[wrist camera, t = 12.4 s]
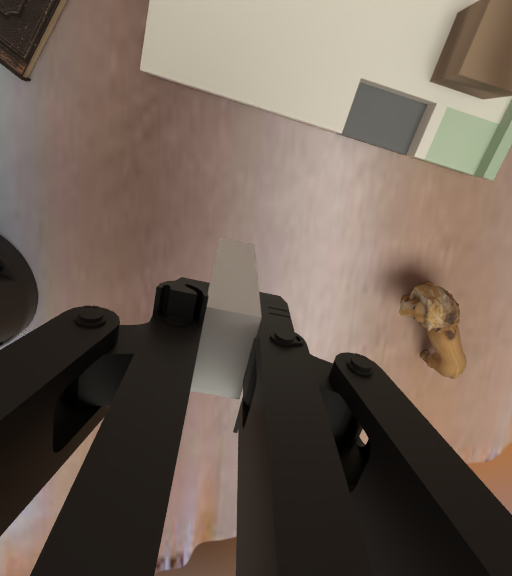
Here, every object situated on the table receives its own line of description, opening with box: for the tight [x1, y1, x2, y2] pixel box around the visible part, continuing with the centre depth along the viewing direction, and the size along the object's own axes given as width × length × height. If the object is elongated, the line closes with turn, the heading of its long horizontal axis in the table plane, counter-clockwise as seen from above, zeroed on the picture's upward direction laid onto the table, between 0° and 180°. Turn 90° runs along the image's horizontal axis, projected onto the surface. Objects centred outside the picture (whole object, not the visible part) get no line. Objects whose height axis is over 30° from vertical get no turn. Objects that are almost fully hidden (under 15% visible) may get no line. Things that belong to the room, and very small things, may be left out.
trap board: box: [140, 0, 512, 180], centre depth 31 cm, size 32×16×4 cm, turn 74°
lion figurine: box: [399, 282, 466, 379], centre depth 40 cm, size 15×5×9 cm, turn 34°
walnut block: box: [430, 0, 512, 99], centre depth 29 cm, size 5×5×5 cm
